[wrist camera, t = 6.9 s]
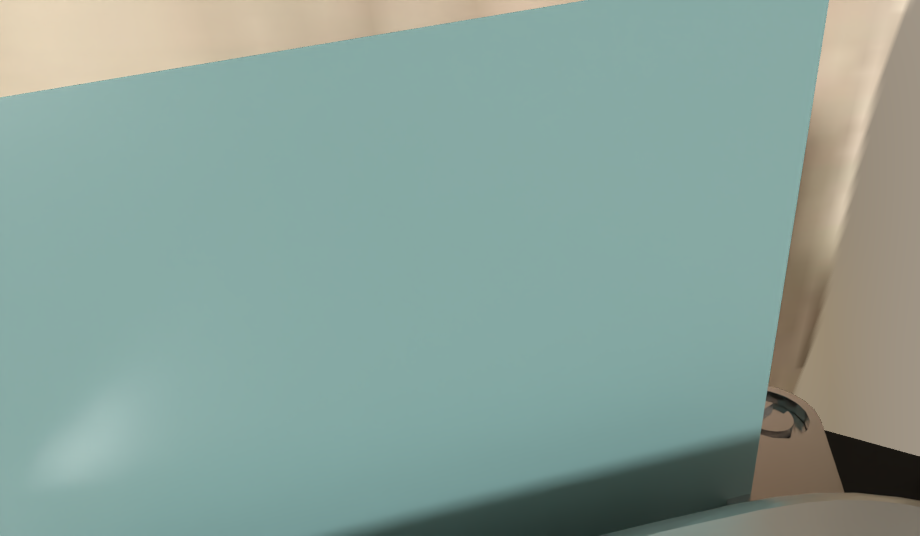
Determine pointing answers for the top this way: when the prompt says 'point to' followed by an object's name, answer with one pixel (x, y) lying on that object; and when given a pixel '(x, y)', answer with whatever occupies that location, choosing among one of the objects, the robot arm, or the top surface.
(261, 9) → the top surface
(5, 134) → the teal rectangular block
